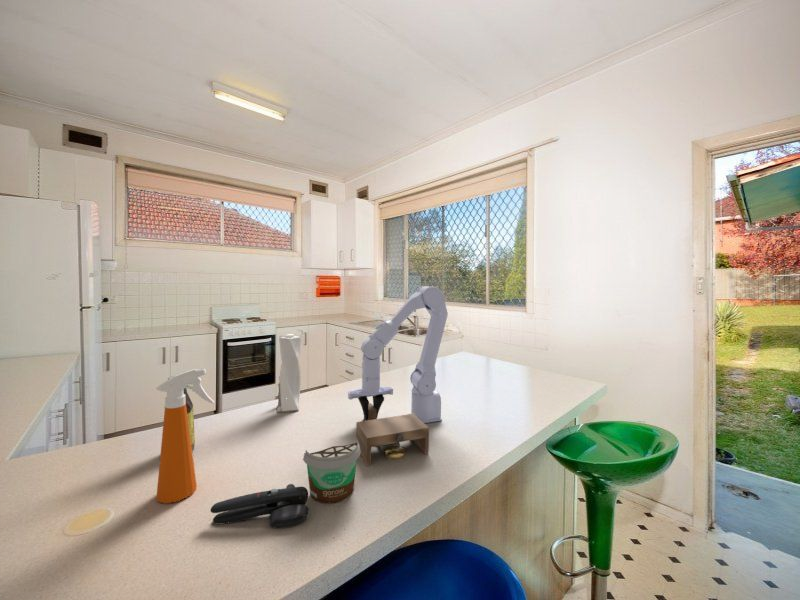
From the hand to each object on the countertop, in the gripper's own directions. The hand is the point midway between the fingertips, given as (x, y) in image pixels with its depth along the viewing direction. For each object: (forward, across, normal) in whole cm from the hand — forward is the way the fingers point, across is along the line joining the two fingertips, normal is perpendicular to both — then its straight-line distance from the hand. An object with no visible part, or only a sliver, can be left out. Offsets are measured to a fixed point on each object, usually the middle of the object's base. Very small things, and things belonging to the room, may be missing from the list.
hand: (370, 418), depth 107 cm
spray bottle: (+2, +47, +20) cm, 51 cm away
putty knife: (+1, 0, +8) cm, 8 cm away
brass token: (+2, 0, +21) cm, 21 cm away
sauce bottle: (+2, +52, 0) cm, 52 cm away
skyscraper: (+2, +23, -21) cm, 31 cm away
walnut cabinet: (+1, 0, +19) cm, 19 cm away
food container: (+2, +18, +33) cm, 38 cm away
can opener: (+2, +32, +34) cm, 47 cm away
